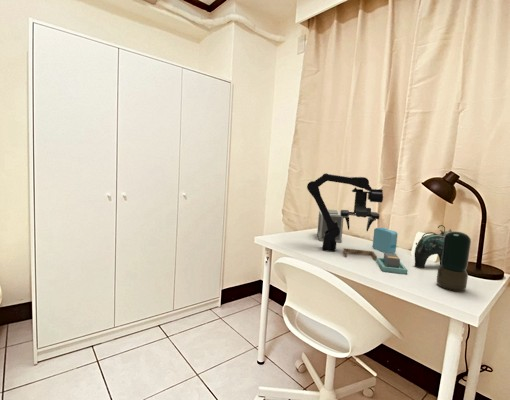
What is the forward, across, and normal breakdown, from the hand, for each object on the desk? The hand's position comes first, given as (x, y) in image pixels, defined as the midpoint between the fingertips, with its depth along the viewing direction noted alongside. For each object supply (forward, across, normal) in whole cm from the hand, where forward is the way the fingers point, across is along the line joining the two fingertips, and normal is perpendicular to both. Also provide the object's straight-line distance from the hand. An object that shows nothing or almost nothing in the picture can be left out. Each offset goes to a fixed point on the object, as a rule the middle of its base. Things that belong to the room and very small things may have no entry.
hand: (357, 230), depth 149 cm
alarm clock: (+12, -13, +26) cm, 32 cm away
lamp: (+12, +31, -35) cm, 48 cm away
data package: (+12, +16, +10) cm, 23 cm away
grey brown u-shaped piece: (+12, +1, -6) cm, 13 cm away
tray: (+12, +13, -19) cm, 26 cm away
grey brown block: (+12, +13, -19) cm, 26 cm away
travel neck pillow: (+12, +34, -10) cm, 37 cm away
